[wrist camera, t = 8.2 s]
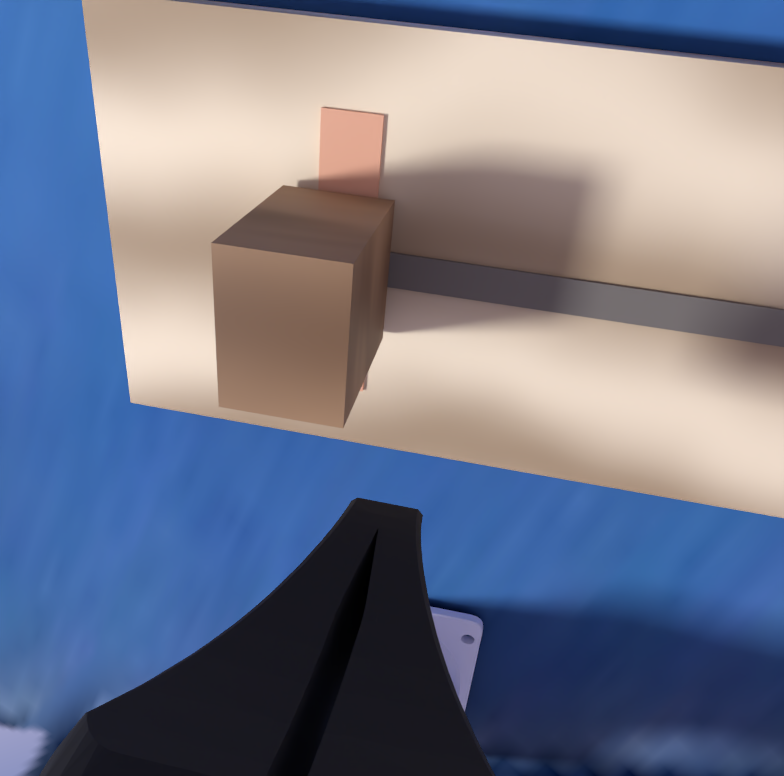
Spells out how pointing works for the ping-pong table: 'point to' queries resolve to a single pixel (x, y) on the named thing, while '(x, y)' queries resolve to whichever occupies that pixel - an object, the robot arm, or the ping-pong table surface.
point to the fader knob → (301, 303)
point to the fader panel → (472, 232)
